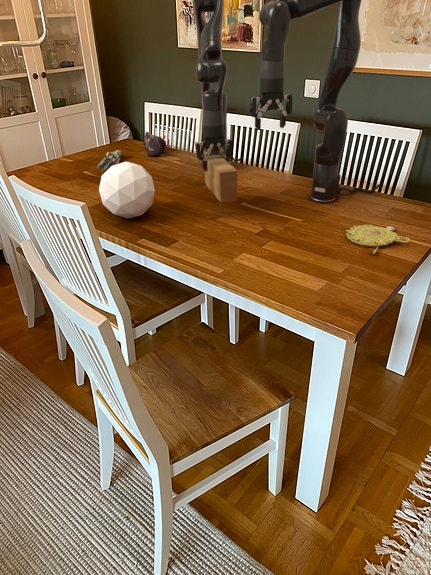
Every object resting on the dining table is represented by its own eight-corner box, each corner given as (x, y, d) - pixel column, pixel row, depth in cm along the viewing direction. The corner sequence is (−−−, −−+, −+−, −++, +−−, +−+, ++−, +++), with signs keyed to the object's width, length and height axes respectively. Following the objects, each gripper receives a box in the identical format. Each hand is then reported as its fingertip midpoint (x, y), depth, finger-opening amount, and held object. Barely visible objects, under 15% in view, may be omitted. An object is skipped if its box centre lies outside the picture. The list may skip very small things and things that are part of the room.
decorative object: (355, 216, 152) (417, 225, 142) (354, 223, 153) (416, 232, 143) (334, 239, 137) (402, 251, 127) (334, 247, 138) (401, 259, 128)
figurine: (101, 154, 197) (119, 141, 223) (91, 167, 200) (110, 152, 227) (114, 165, 199) (130, 151, 225) (103, 178, 203) (121, 162, 229)
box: (205, 183, 171) (204, 156, 165) (220, 181, 172) (219, 154, 166) (220, 202, 154) (220, 172, 148) (237, 200, 156) (237, 170, 150)
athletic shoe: (152, 146, 217) (175, 145, 222) (140, 122, 229) (162, 121, 233) (150, 166, 226) (172, 164, 230) (139, 141, 238) (160, 140, 242)
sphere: (119, 231, 167) (91, 184, 164) (165, 204, 169) (137, 158, 167) (116, 226, 148) (83, 173, 146) (167, 196, 150) (136, 144, 148)
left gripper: (196, 127, 152) (198, 174, 161) (235, 123, 155) (236, 170, 164) (190, 122, 158) (193, 168, 167) (229, 118, 161) (229, 164, 170)
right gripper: (255, 79, 136) (254, 133, 145) (297, 75, 139) (294, 129, 148) (247, 76, 142) (246, 128, 151) (287, 73, 146) (285, 124, 154)
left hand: (214, 169), depth 165 cm, fingers closed on box, 6 cm apart
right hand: (270, 128), depth 150 cm, fingers open, 8 cm apart
